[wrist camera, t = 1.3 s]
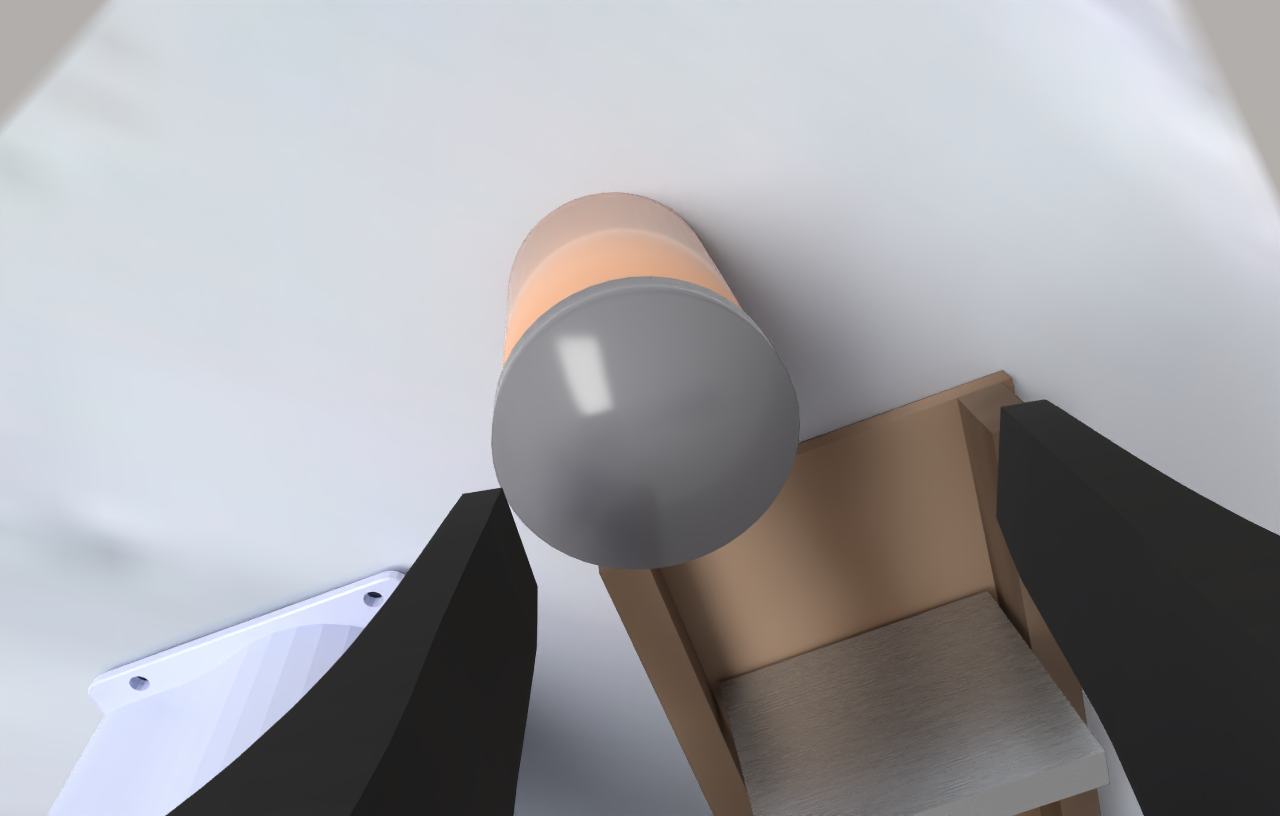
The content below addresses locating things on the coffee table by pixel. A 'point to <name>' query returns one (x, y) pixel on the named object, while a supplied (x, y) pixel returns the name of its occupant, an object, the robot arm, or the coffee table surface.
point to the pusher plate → (912, 724)
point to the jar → (635, 391)
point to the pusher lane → (838, 571)
